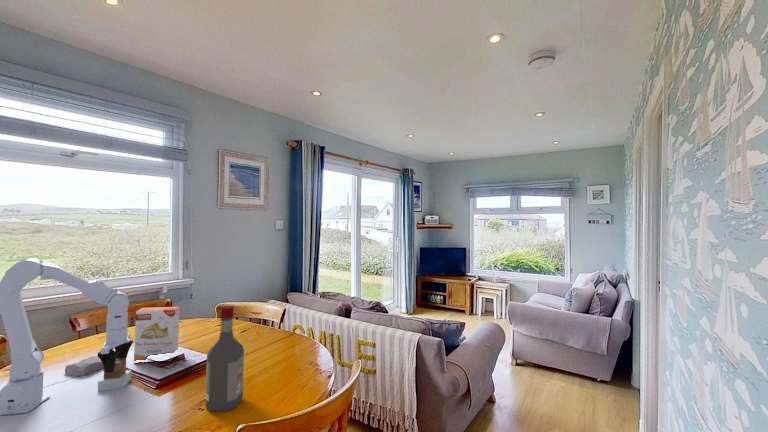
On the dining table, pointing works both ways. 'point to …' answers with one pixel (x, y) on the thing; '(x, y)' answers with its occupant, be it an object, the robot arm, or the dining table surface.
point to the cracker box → (156, 331)
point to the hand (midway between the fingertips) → (115, 367)
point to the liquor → (224, 368)
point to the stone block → (84, 366)
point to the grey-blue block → (114, 382)
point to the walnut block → (117, 369)
